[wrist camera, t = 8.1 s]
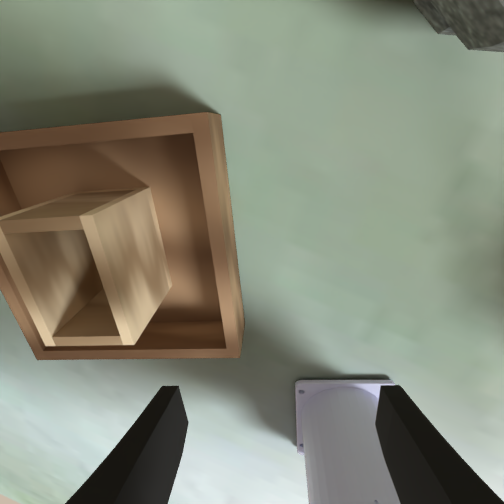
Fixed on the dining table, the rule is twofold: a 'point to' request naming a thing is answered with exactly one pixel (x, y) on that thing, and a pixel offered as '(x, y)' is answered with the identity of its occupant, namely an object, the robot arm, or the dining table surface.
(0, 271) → the large crate
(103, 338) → the small crate
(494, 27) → the mortar and pestle
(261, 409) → the dining table surface
